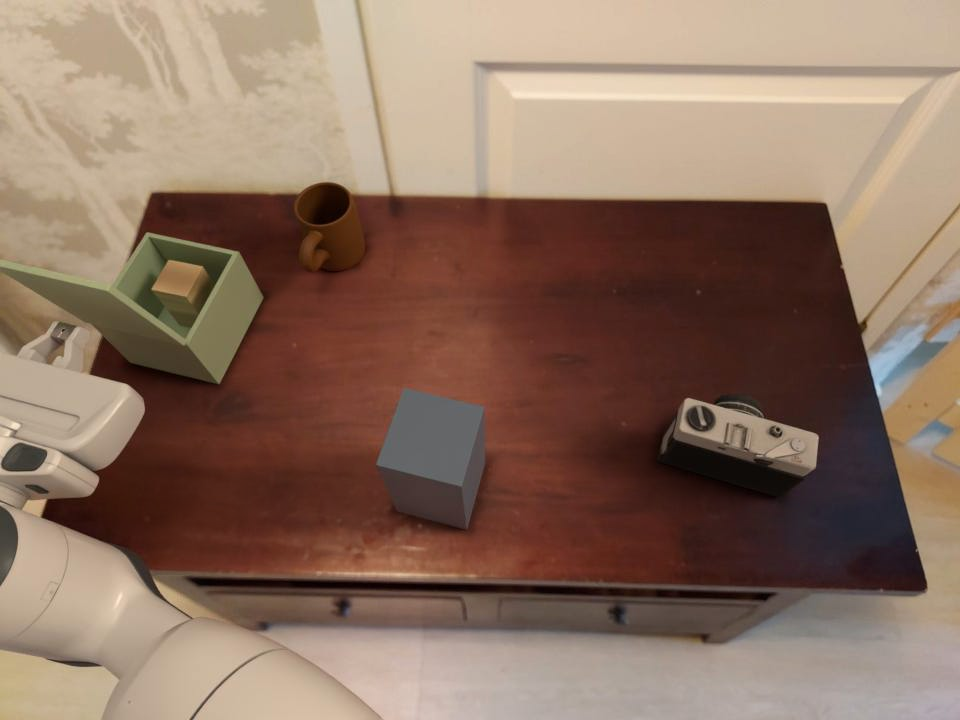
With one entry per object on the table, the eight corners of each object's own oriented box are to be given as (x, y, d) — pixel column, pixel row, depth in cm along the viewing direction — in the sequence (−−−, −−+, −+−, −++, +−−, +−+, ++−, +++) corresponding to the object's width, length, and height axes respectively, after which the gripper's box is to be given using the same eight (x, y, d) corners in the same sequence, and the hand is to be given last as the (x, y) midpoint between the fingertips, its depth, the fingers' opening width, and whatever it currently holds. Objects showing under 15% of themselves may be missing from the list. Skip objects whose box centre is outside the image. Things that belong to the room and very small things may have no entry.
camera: (795, 441, 75) (835, 407, 66) (775, 513, 71) (813, 487, 62) (678, 394, 78) (700, 356, 69) (652, 460, 74) (672, 429, 65)
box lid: (-9, 257, 59) (-13, 263, 59) (110, 284, 58) (107, 291, 57) (87, 316, 73) (84, 322, 72) (187, 340, 71) (184, 346, 71)
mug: (345, 305, 85) (330, 260, 77) (290, 294, 86) (269, 249, 78) (373, 234, 90) (361, 185, 82) (321, 225, 91) (305, 176, 83)
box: (179, 278, 87) (146, 231, 79) (263, 297, 86) (239, 251, 77) (130, 362, 81) (88, 321, 73) (219, 384, 80) (187, 345, 71)
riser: (467, 530, 71) (461, 486, 57) (396, 511, 72) (375, 464, 59) (485, 461, 74) (484, 406, 61) (418, 445, 75) (403, 387, 62)
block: (211, 332, 82) (186, 296, 75) (179, 325, 83) (150, 289, 76) (226, 303, 85) (203, 266, 78) (195, 297, 85) (168, 259, 78)
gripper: (-88, 444, 60) (1, 321, 67) (108, 499, 58) (182, 365, 64) (-146, 416, 55) (-43, 285, 61) (67, 476, 52) (152, 332, 58)
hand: (73, 327), depth 63 cm, fingers closed
